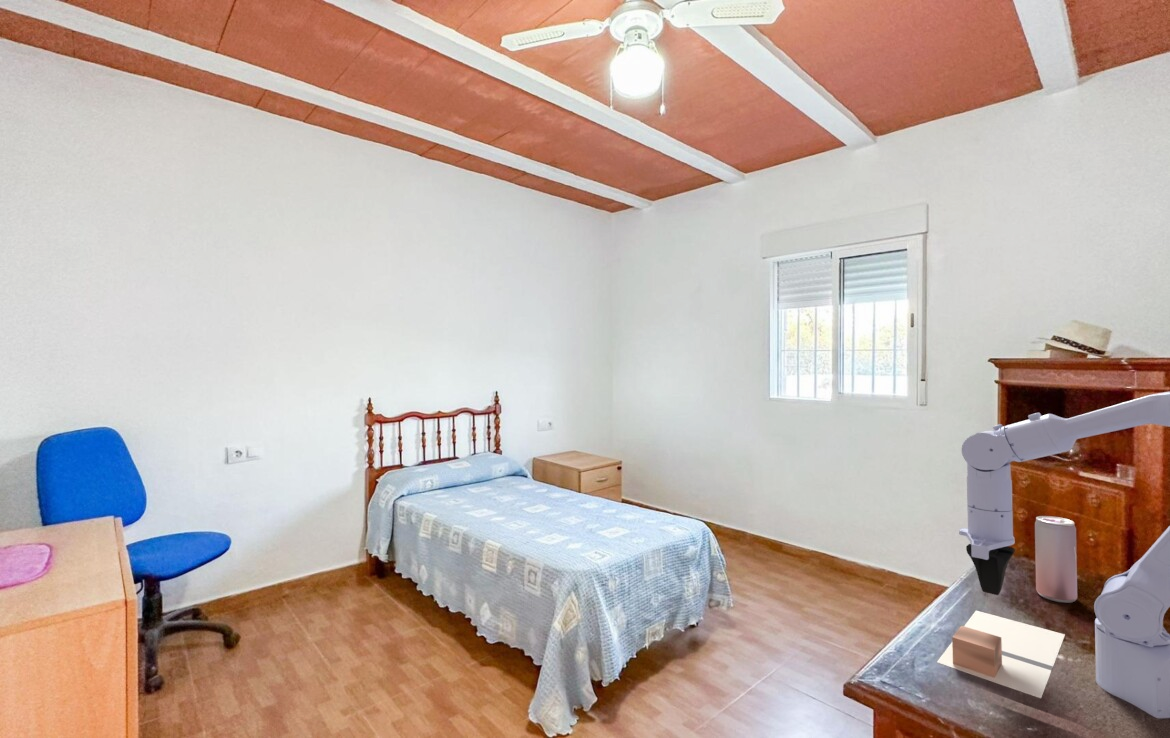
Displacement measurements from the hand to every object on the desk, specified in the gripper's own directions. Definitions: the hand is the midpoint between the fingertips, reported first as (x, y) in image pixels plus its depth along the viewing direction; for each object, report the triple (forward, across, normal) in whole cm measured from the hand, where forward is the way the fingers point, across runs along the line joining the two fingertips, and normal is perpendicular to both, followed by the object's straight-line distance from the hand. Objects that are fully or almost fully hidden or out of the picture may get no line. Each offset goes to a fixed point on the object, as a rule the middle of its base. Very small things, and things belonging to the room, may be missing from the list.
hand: (991, 592), depth 84 cm
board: (+9, 0, +1) cm, 10 cm away
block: (+8, +8, 0) cm, 12 cm away
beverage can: (+10, -32, +4) cm, 34 cm away
